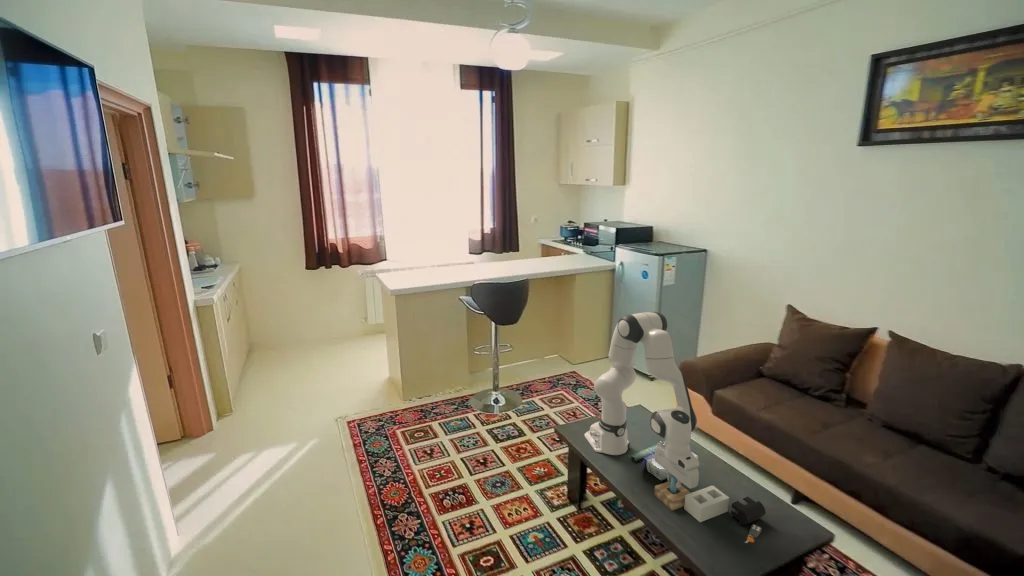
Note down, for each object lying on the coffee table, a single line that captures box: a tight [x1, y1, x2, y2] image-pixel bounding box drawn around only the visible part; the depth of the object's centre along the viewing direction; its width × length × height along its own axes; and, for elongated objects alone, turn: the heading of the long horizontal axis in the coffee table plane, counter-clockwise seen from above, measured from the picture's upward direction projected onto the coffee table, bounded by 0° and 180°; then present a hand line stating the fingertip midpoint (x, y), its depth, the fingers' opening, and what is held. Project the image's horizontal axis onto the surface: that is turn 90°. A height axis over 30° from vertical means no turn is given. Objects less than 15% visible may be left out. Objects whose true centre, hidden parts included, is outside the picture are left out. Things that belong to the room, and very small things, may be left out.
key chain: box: [744, 523, 763, 544], centre depth 163 cm, size 13×4×2 cm, turn 139°
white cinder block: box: [683, 485, 730, 523], centre depth 176 cm, size 8×14×6 cm, turn 114°
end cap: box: [730, 496, 766, 526], centre depth 171 cm, size 10×7×7 cm
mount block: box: [653, 481, 691, 511], centre depth 182 cm, size 10×10×4 cm
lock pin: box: [670, 475, 677, 495], centre depth 181 cm, size 2×2×10 cm
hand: (673, 483), depth 181 cm, fingers closed on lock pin, 2 cm apart
